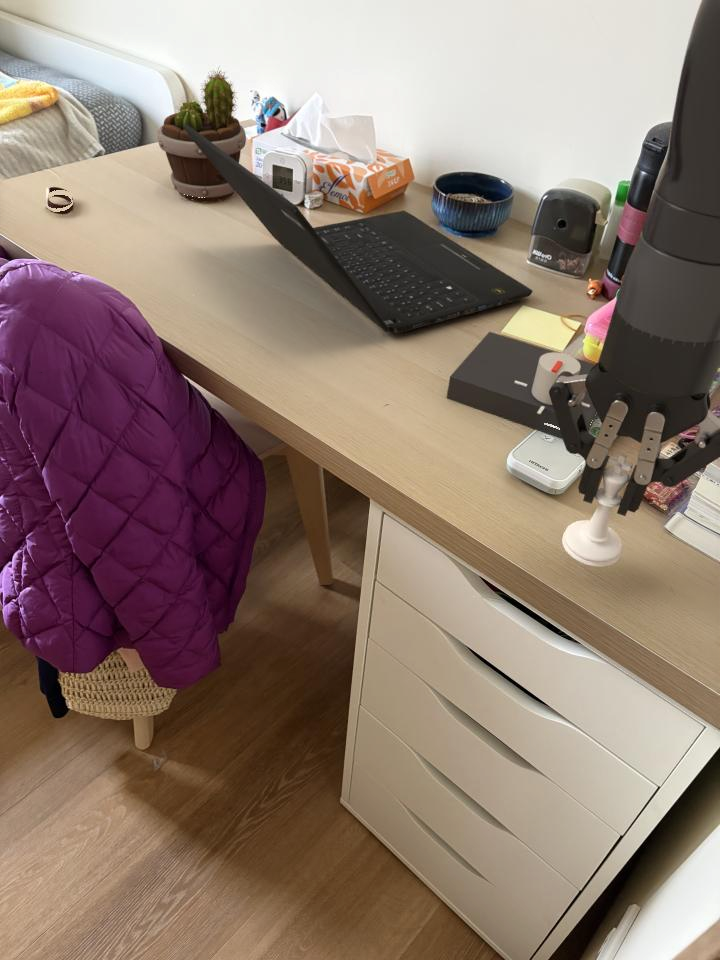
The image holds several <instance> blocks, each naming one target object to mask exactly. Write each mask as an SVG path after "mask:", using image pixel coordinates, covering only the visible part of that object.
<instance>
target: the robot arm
mask: <svg viewBox="0 0 720 960" xmlns="http://www.w3.org/2000/svg"><path fill="white" fill-rule="evenodd" d="M675 96H676V97H675V102H674V106H673V107H674V109H673V114H672V120H671V125H670V133H669V139H668V145H667V151H666V154H665V157H664V160H663V162H662V164H661V166H660V169H659V171H658V175H657V178H656V180H655V183H654V184H655V185H654V188H653V191H652V194H651V197H650V200H649V203H648V208H647V210H646V214H645V218H644V220H643V225H642V227H641V231H640V234H639V237H638V238H637V241H636V243H635V246H634V248H633V251H632V252H631V254H630V257H629V259H628V262H627V265H626V267H625V270H624V273H623V277H622V280H621V284H620V287H619V291H618V294H617V298H616V300H615V304H614V308H613V311H612V313H611V317H610V321H609V324H608V327H607V331H606V335H605V338H604V341H603V344H602V348H601V352H600V355H599V358H598V361H597V362H596V363H595V364H596V365H594V366H593V367H592V368H591V370H590V372H589V374H584V375H577V376H573V374H572V373H570V372H568V371H564V372H562V373H560V375H559V376H558V378H557V379H556V381H555V382H554V384H553V385H552V387H551V388H550V390H549V395H550V399H551V402H552V405H553V408H554V411H555V415H556V418H557V421H558V424H559V428H560V431H561V434H562V437H563V439H562V440H563V441H562V442H563V443H564V444H563V445H564V447H565V449H566V451H567V452H568V453H570V454H572V455H577V454H578V455H579V456H580V457H582V458H583V460H584V463H585V464H584V469H583V471H582V474H581V478H580V481H579V483H578V486H577V487H578V488H577V489H578V493H579V494H582V495H584V496H583V499H582V501H583V502H585V503H587V504H590V505H593V502H594V500H595V494H596V492H597V490H598V489H600V486H601V483H602V480H603V471H604V470H605V469H606V468H607V465H608V462H609V459H610V455H608V453H609V450H610V449H611V447H612V445H613V443H614V440H615V439H616V436H617V437H627V438H631V439H633V440H634V441H636V442H638V443H639V444H640V446H639V450H638V455H637V461H636V464H635V465H634V468H633V469H632V473H631V475H630V476H629V481H628V483H627V484H626V487H625V490H624V492H623V495H622V500H621V503H620V505H619V506H618V509H617V511H616V514H618V515H620V516H624V517H626V516H627V513H628V511H629V512H631V513H635V512H637V511H638V510H639V508H640V506H641V503H642V501H643V498H644V496H645V493H646V491H647V489H648V487H649V485H650V484H652V483H661V484H662V485H663V486H664V487H667V488H673V487H674V488H675V486H678V485H679V484H680V483H682V482H683V481H685V480H686V479H688V478H690V477H691V476H692V475H694V474H696V473H698V472H699V471H700V470H702V469H704V468H705V467H707V466H708V465H710V464H712V463H713V462H715V461H716V460H718V459H719V458H720V418H719V417H718V416H717V415H716V414H714V413H713V412H712V411H711V410H710V408H711V405H712V404H711V402H712V401H711V396H710V389H711V387H712V385H713V383H714V381H715V378H716V376H717V373H718V372H719V368H720V0H701V1H700V3H699V6H698V9H697V12H696V14H695V17H694V21H693V23H692V28H691V30H690V34H689V36H688V41H687V45H686V49H685V53H684V57H683V62H682V66H681V70H680V75H679V81H678V86H677V92H676V95H675ZM585 391H587V392H588V394H589V396H590V398H591V401H592V403H593V405H594V407H595V410H596V412H597V416H598V419H599V421H600V422H601V425H600V427H599V430H598V432H597V435H596V436H594V435H593V434H592V433H591V430H590V429H589V427H588V423H587V420H586V416H585V413H584V409H583V406H582V400H583V399H584V397H585ZM696 426H698V428H697V430H696V433H695V436H694V440H692V441H691V442H690V443H688V444H687V445H686V446H683V447H682V448H680V450H677V452H675V453H674V454H672V455H671V456H669V457H668V458H663V457H662V458H661V457H660V455H661V451H662V447H663V444H664V442H667V441H669V440H672V439H673V438H674V437H677V436H679V435H681V434H682V433H684V432H686V431H688V430H690V429H692V428H694V427H696Z"/></svg>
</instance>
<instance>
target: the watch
mask: <svg viewBox="0 0 720 960" xmlns="http://www.w3.org/2000/svg"><path fill="white" fill-rule="evenodd" d="M54 190H55V191H56V190H65V191H68V190H66V189H65V188H62V187H59V186H58V187H57V186H47V187H46V188H45V200H46V201H45V202H44V203H47V204H48V206H49V207H51V208H56V209H57V208H63V207H66V206H68V205H70V204H71V203H72V202H71V199H70V198H69V197H68V196H65V195H54V196H52V197H51V198H61V199H62V200H65V201H67V202H68V203H67V204H58V203H54V202H52V201H51V200H50V198H49V193H50V192H52V191H54ZM70 202H71V203H70ZM44 209H46V210H49V209H48V208H47V207H45V206H44ZM72 211H74V204H73V205H72V206H71V207H70V208H69V209H67V210H65V211H60V212H53V211H50V212H51V213H53V214H56V215H68V214H70V213H72Z"/></svg>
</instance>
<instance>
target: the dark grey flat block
mask: <svg viewBox="0 0 720 960" xmlns="http://www.w3.org/2000/svg"><path fill="white" fill-rule="evenodd" d="M552 352H556V353H558V352H557V351H555V350H551V349H547V348H543V347H541V346H537V345H534V344H531V343H527V342H524V341H521V340H519V339H515V338H511V337H509V336H505V335H502V334H498V333H496V332H492V331H488V333H487V334H485V336H484V337H483V338H482V340H480V341H479V343H478V344H477V345H476V346H475V347H474V349H472V351H471V352H470V353H469V354H468V355H467V357H465V359H464V360H463V361H462V362H461V363H460V364H459V366H457V368H456V369H455V370H454V372H452V373H451V375H450V376H449V381H448V388H447V392H446V393H447V394H446V399H449V400H451V401H455V402H457V403H460V404H463V405H466V406H468V407H472V408H473V409H477V410H479V411H480V410H481V411H483V412H485V413H487V414H492V415H495V416H497V417H500V418H503V419H506V420H508V421H512V422H514V423H517V424H520V425H523V426H525V427H528V428H531V429H534V430H537V431H539V432H542V433H546V434H548V435H551V436H554V437H557V438H560V439H562V440H563V437H562V434H561V431H560V430H558V429H556V428H553V427H550V426H547V425H544V423H548V424H552V425H554V426H557V427H559V424H558V421H557V418H556V415H555V411H554V408H553V405H548V404H545V403H542V402H540V401H538V400H537V399H536V398H535V397H534V396H533V394H532V387H533V383H534V379H535V375H536V371H537V367H538V363H539V359H540V357H541V356H542V355H544V354H546V353H552ZM574 358H575V359H576V360H577V361H578V362H579V363H580V365H581V368H580V372H579V375H584V374H589V372H590V370H591V368H592V367H593V366H594V365H596V364H597V363H593V362H589V361H586V360H583V359H579V358H576V357H574ZM582 406H583V409H584V413H585V416H586V420H587V423H588V427H589V430H590V429H591V427H592V425H593V423H594V422H595V419H596V418H597V416H598V414H596V413H597V412H596V410H595V407H594V405H593V403H592V401H591V398H590V396H589V394H588V392H587V391H585V397H584V399H583V400H582ZM595 415H596V416H595ZM592 420H593V421H592ZM591 422H592V423H591ZM590 424H591V425H590Z"/></svg>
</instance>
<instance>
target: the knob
mask: <svg viewBox="0 0 720 960" xmlns="http://www.w3.org/2000/svg"><path fill="white" fill-rule="evenodd" d="M556 352H557V351H554V352H552V353H546V354H544V355H542V356H541V357H540V359H539V363H538V367H537V371H536V375H535V379H534V383H533V387H532V394H533V396H534V397H535V398H536V399H537V400H538V401H540V402H542V403H545V404H548V405H552V402H551V399H550V395H549V390H550V388H551V387H552V385H553V384H554V382H555V381H556V379H557V378H558V376H559V375H560V373H562V372H564V371H568V372H570V373H572V374H573V376H577V375H579V372H580V368H581V365H580V363H579V362H578V361H577V360H576V359H577V358H576V357H573V356H572V355H570V354H567V353H562V352H557V353H556ZM575 358H576V359H575Z"/></svg>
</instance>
